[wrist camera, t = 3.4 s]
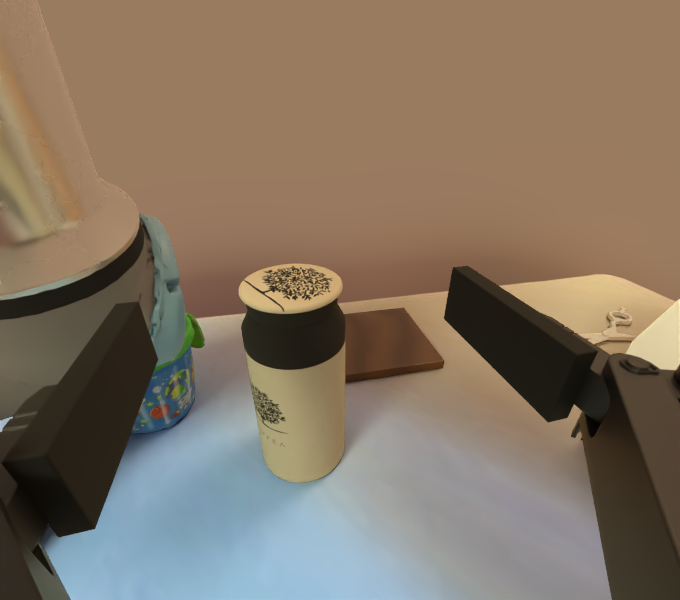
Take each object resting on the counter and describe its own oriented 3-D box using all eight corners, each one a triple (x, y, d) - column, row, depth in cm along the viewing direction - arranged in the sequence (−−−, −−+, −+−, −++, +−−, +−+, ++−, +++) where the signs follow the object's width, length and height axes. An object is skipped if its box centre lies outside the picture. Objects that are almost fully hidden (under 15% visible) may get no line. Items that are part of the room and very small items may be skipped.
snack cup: (178, 356, 45) (159, 290, 40) (242, 376, 41) (229, 306, 36) (54, 449, 32) (3, 369, 27) (131, 490, 29) (88, 406, 24)
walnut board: (288, 390, 39) (288, 383, 39) (282, 327, 51) (281, 320, 51) (442, 368, 43) (444, 360, 42) (403, 313, 55) (403, 307, 54)
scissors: (698, 342, 46) (588, 366, 42) (695, 347, 47) (586, 371, 42) (623, 306, 55) (525, 323, 50) (621, 310, 56) (524, 327, 51)
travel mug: (319, 404, 37) (313, 255, 29) (360, 457, 31) (367, 289, 23) (251, 435, 34) (221, 275, 25) (283, 502, 28) (257, 323, 19)
